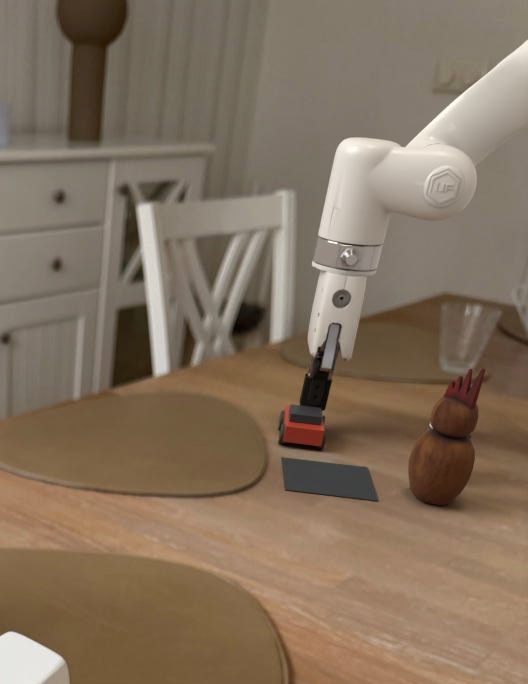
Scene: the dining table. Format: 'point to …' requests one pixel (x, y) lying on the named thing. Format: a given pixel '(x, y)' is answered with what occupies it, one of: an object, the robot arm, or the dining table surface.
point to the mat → (328, 479)
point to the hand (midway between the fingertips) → (311, 407)
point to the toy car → (302, 426)
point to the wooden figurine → (446, 444)
